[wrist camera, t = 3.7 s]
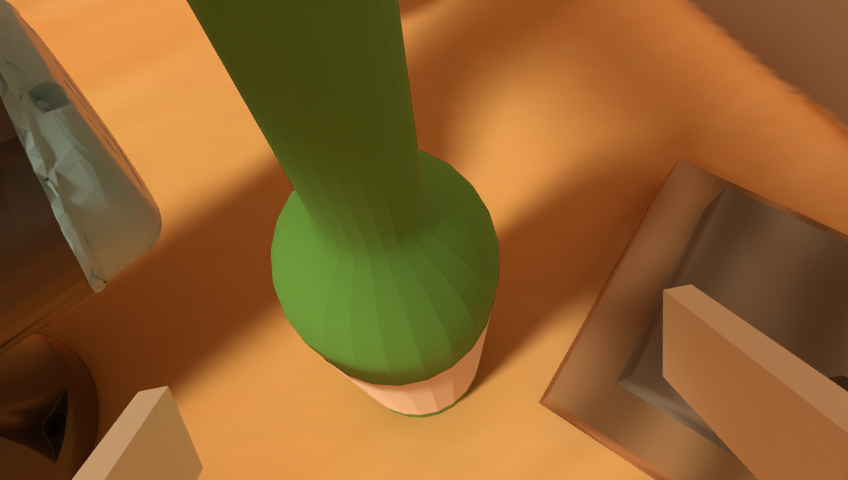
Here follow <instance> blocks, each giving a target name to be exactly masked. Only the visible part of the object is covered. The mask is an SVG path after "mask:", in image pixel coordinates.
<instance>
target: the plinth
mask: <svg viewBox="0 0 848 480" xmlns="http://www.w3.org/2000/svg"><path fill="white" fill-rule="evenodd" d="M690 284H692V285H693V286H694V287H696V288H697V289H699V290H700V291H702V292H703V293H705V294H706V295H708V296H709V297H710V298H712V299H713V300H715V301H716V302H718V303H719V304H721V305H722V306H724V307H725V308H727V309H728V310H729V311H731V312H732V313H734V314H735V315H737V316H738V317H740V318H741V319H743V320H744V321H745V322H747V323H748V324H750V325H751V326H753V327H754V328H756V329H757V330H759V331H760V332H761V333H763V334H764V335H766V336H767V337H769V338H770V339H772V340H773V341H775V342H776V343H777V344H779V345H780V346H782V347H783V348H785V349H786V350H788V351H789V352H791V353H792V354H793V355H795V356H796V357H798V358H799V359H801V360H802V361H804V362H805V363H807V364H808V365H809V366H811V367H812V368H814V369H815V370H817V371H818V372H820V373H821V374H823V375H824V376H826V377H827V378H830V377H835V376H840V375H842V376H845V377H847V378H848V236H847V235H845V234H842V233H840V232H838V231H836V230H834V229H832V228H829V227H827V226H825V225H823V224H821V223H818V222H816V221H814V220H812V219H810V218H807V217H805V216H803V215H801V214H799V213H797V212H794V211H792V210H790V209H788V208H786V207H783V206H781V205H779V204H777V203H775V202H773V201H770V200H768V199H766V198H764V197H762V196H759V195H757V194H755V193H753V192H751V191H748V190H746V189H744V188H742V187H740V186H738V185H735V184H733V183H731V182H729V181H727V180H724V179H722V178H720V177H718V176H716V175H713V174H711V173H709V172H707V171H705V170H703V169H700V168H698V167H696V166H694V165H692V164H689V163H687V162H685V161H683V160H681V159H679V161H678V162H677V163H676V165H675V166H674V167H673V169H672V170H671V171H670V173H669V174H668V175H667V177H666V178H665V179H664V181H663V182H662V184H661V186H660V188H659V190H658V191H657V193H656V195H655V197H654V198H653V200H652V202H651V204H650V206H649V207H648V209H647V211H646V213H645V215H644V216H643V218H642V220H641V222H640V223H639V225H638V227H637V229H636V231H635V232H634V234H633V236H632V238H631V240H630V241H629V243H628V245H627V247H626V248H625V250H624V252H623V254H622V256H621V257H620V259H619V261H618V263H617V265H616V266H615V268H614V270H613V272H612V273H611V275H610V277H609V279H608V281H607V282H606V284H605V286H604V288H603V289H602V291H601V293H600V295H599V297H598V298H597V300H596V302H595V304H594V306H593V307H592V309H591V311H590V313H589V314H588V316H587V318H586V320H585V322H584V323H583V325H582V327H581V329H580V331H579V332H578V334H577V336H576V338H575V339H574V341H573V343H572V345H571V347H570V348H569V350H568V352H567V354H566V355H565V357H564V359H563V361H562V363H561V364H560V366H559V368H558V370H557V372H556V373H555V375H554V377H553V379H552V380H551V382H550V384H549V386H548V388H547V389H546V391H545V393H544V395H543V397H542V398H541V400H540V402H539V403H540V404H542V405H543V406H545V407H546V408H548V409H549V410H551V411H552V412H554V413H555V414H557V415H558V416H560V417H561V418H563V419H564V420H566V421H568V422H569V423H571V424H572V425H574V426H575V427H577V428H578V429H580V430H581V431H583V432H584V433H586V434H587V435H589V436H590V437H592V438H593V439H595V440H596V441H598V442H599V443H601V444H602V445H604V446H605V447H607V448H608V449H610V450H611V451H613V452H615V453H616V454H618V455H619V456H621V457H622V458H624V459H625V460H627V461H628V462H630V463H631V464H633V465H634V466H636V467H637V468H639V469H640V470H642V471H643V472H645V473H646V474H648V475H649V476H651V477H652V478H654V479H655V480H758V479H757V478H756V477H755V476H754V475H753V473H752V472H751V471H750V470H749V469H748V468H747V467H746V466H745V465H744V464H743V463H742V462H741V460H740V459H739V458H738V457H737V456H736V455H735V454H734V453H733V452H732V451H731V450H730V449H729V447H728V446H727V445H726V444H725V443H724V442H723V441H722V440H721V439H720V438H719V437H718V436H717V434H716V433H715V432H714V431H713V430H712V429H711V428H710V427H709V426H708V425H707V424H706V423H705V421H704V420H703V419H702V418H701V417H700V416H699V415H698V414H697V413H696V412H695V411H694V410H693V408H692V407H691V406H690V405H689V404H688V403H687V402H686V401H685V400H684V399H683V398H682V397H681V395H680V394H679V393H678V392H677V391H676V390H675V389H674V388H673V387H672V386H671V385H670V384H669V383H668V381H667V380H666V379H665V378H664V377H663V290H664V289H669V288H675V287H680V286H685V285H690Z"/></svg>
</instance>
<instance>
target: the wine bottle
mask: <svg viewBox="0 0 848 480" xmlns="http://www.w3.org/2000/svg"><path fill="white" fill-rule="evenodd" d="M187 2H188V3H189V5H190V7H191V9H192V10H193V12H194V14H195V16H196V17H197V19H198V21H199V23H200V24H201V26H202V28H203V30H204V31H205V33H206V35H207V37H208V38H209V40H210V42H211V44H212V45H213V47H214V49H215V51H216V52H217V54H218V56H219V58H220V59H221V61H222V63H223V65H224V66H225V68H226V70H227V72H228V73H229V75H230V77H231V79H232V80H233V82H234V84H235V86H236V87H237V89H238V91H239V93H240V94H241V96H242V98H243V100H244V101H245V103H246V105H247V107H248V108H249V110H250V112H251V114H252V115H253V117H254V119H255V120H256V122H257V124H258V126H259V127H260V129H261V131H262V133H263V134H264V136H265V138H266V140H267V141H268V143H269V145H270V147H271V148H272V150H273V152H274V154H275V155H276V157H277V159H278V161H279V162H280V164H281V166H282V168H283V169H284V171H285V173H286V175H287V176H288V178H289V180H290V182H291V183H292V185H293V187H294V191H293V192H292V193H291V194H290V196H289V198H288V200H287V202H286V204H285V206H284V207H283V209H282V211H281V213H280V215H279V217H278V220H277V223H276V228H275V232H274V237H273V241H272V246H271V264H272V279H273V286H274V288H275V291H276V293H277V296H278V299H279V301H280V304H281V307H282V309H283V312H284V314H285V317H286V318H287V320H288V321H289V322H290V324H291V325H292V326H293V327H294V329H295V330H296V331H297V333H298V334H299V335H300V336H301V338H302V339H303V340H304V342H305V343H306V344H307V345H308V346H310V347H311V348H312V349H313V350H315V351H316V352H317V353H318V354H320V355H321V356H322V357H324V359H325V360H326V361H328V362H329V363H330V364H331V365H333V366H334V367H335V368H336V369H338V370H339V371H340V372H341V373H343V374H344V375H345V376H347V377H348V378H349V379H350V380H352V381H353V382H354V383H355V384H357V385H358V386H359V387H360V388H362V389H363V390H364V391H366V392H367V393H368V394H369V395H371V396H372V397H373V398H374V399H376V400H377V401H379V402H380V403H381V404H383V405H384V406H386V407H387V408H389V409H390V410H392V411H394V412H396V413H399V414H402V415H405V416H408V417H428V416H432V415H437V414H440V413H442V412H444V411H446V410H448V409H450V408H451V407H453V406H454V405H455V404H457V403H458V402H459V401H460V400H461V399H462V398H463V397H464V396H465V395H466V393H467V391H468V390H469V388H470V386H471V385H472V383H473V381H474V378H475V375H476V372H477V368H478V365H479V361H480V357H481V353H482V349H483V345H484V340H485V336H486V332H487V328H488V323H489V319H490V315H491V311H492V306H493V302H494V295H495V291H496V287H497V282H498V277H499V244H498V240H497V237H496V233H495V230H494V226H493V223H492V220H491V216H490V213H489V211H488V209H487V208H486V206H485V204H484V203H483V201H482V200H481V198H480V197H479V195H478V193H477V192H476V190H475V189H474V187H473V186H472V185H471V184H470V182H468V181H467V180H466V179H465V178H464V177H463V176H462V175H461V174H460V173H458V172H457V171H456V170H455V169H454V168H453V167H452V166H451V165H449V164H447V163H446V162H444V161H442V160H440V159H438V158H436V157H434V156H432V155H430V154H428V153H427V152H424V151H420V150H418V147H417V140H416V132H415V125H414V117H413V110H412V102H411V95H410V87H409V79H408V72H407V64H406V57H405V49H404V42H403V34H402V27H401V19H400V12H399V4H398V0H187Z"/></svg>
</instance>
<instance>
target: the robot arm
mask: <svg viewBox="0 0 848 480" xmlns="http://www.w3.org/2000/svg"><path fill="white" fill-rule="evenodd" d="M161 227H162V221H161V214H160V211H159V208H158V206H157V204H156V202H155V200H154V199H153V197H152V195H151V193H150V191H149V190H148V188H147V187H146V185H145V183H144V182H143V180H142V179H141V177H140V175H139V174H138V172H137V171H136V169H135V168H134V166H133V165H132V163H131V162H130V160H129V159H128V157H127V156H126V154H125V153H124V151H123V150H122V148H121V147H120V146H119V144H118V143H117V141H116V140H115V138H114V137H113V135H112V134H111V133H110V131H109V130H108V128H107V127H106V125H105V124H104V123H103V121H102V120H101V118H100V117H99V116H98V114H97V113H96V111H95V110H94V109H93V107H92V106H91V105H90V103H89V102H88V100H87V99H86V98H85V96H84V95H83V93H82V92H81V91H80V89H79V88H78V87H77V85H76V84H75V83H74V81H73V80H72V78H71V77H70V76H69V74H68V73H67V72H66V70H65V69H64V68H63V66H62V65H61V64H60V62H59V61H58V60H57V59H56V57H55V56H54V55H53V53H52V52H51V51H50V49H49V48H48V47H47V46H46V44H45V43H44V42H43V41H42V39H41V38H40V37H39V36H38V35H37V33H36V32H35V31H34V30H33V29H32V28H31V27H30V26H29V25H28V24H27V23H26V22H25V20H24V19H23V18H22V17H21V16H20V14H19V12H18V11H17V10H16V9H15V8H14V7H13V6H12V5H11V4H10V3H9V2H7V1H6V0H0V480H197V479H198V477H199V475H200V473H201V471H202V468H203V467H202V464H201V462H200V460H199V457H198V455H197V453H196V450H195V448H194V445H193V443H192V441H191V438H190V436H189V434H188V431H187V429H186V427H185V424H184V422H183V420H182V417H181V415H180V413H179V410H178V408H177V406H176V403H175V401H174V399H173V396H172V394H171V391H170V389H169V387H168V386H164V387H159V388H154V389H149V390H144V391H139V392H138V393H137V394H136V395H135V397H134V398H133V399H132V401H131V402H130V403H129V405H128V406H127V407H126V409H125V410H124V411H123V413H122V414H121V415H120V417H119V418H118V419H117V421H116V422H115V423H114V424H113V426H112V427H111V428H110V430H109V431H108V432H107V434H106V435H105V436H104V438H103V439H102V440H101V442H100V443H99V444H98V446H97V447H96V448H95V450H94V451H93V452H92V449H93V445H94V441H95V436H96V430H97V420H98V405H97V396H96V391H95V387H94V383H93V380H92V378H91V375H90V373H89V371H88V369H87V367H86V366H85V364H84V363H83V361H82V360H81V359H80V358H79V357H78V356H77V355H76V354H75V353H74V352H73V351H72V350H71V349H70V348H68V347H67V346H65V345H64V344H62V343H60V342H58V341H55V340H53V339H50V338H46V337H43V336H40V335H36V334H33V333H35V332H36V331H38V330H39V329H41V328H42V327H44V326H45V325H47V324H48V323H50V322H51V321H53V320H54V319H56V318H57V317H59V316H60V315H62V314H63V313H65V312H66V311H68V310H69V309H71V308H72V307H73V306H75V305H76V304H78V303H79V302H81V301H82V300H84V299H85V298H87V297H88V296H90V295H91V294H93V293H97V294H98V293H100V292H101V291H103V289H104V288H105V287H106V283H107V281H109V280H110V279H111V278H113V277H114V276H115V275H117V274H118V273H119V272H121V271H122V270H123V269H125V268H126V267H127V266H129V265H130V264H131V263H133V262H134V261H135V260H137V259H138V258H140V257H141V256H142V255H144V254H145V253H146V252H148V251H149V250H150V249H151V248H152V246H153V245H154V244H155V243H156V241H157V240H158V237H159V234H160V231H161ZM663 377H664V378H665V379H666V380H667V381H668V383H669V384H670V385H671V386H672V387H673V388H674V389H675V390H676V391H677V392H678V393H679V394H680V395H681V397H682V398H683V399H684V400H685V401H686V402H687V403H688V404H689V405H690V406H691V407H692V408H693V410H694V411H695V412H696V413H697V414H698V415H699V416H700V417H701V418H702V419H703V420H704V421H705V423H706V424H707V425H708V426H709V427H710V428H711V429H712V430H713V431H714V432H715V433H716V434H717V436H718V437H719V438H720V439H721V440H722V441H723V442H724V443H725V444H726V445H727V446H728V447H729V449H730V450H731V451H732V452H733V453H734V454H735V455H736V456H737V457H738V458H739V459H740V460H741V462H742V463H743V464H744V465H745V466H746V467H747V468H748V469H749V470H750V471H751V472H752V473H753V475H754V476H755V477H756V478H757V479H758V480H848V378H847V377H845V376H842V375H840V376H835V377H830V378H827V377H826V376H824V375H823V374H821V373H820V372H818V371H817V370H815V369H814V368H812V367H811V366H809V365H808V364H807V363H805V362H804V361H802V360H801V359H799V358H798V357H796V356H795V355H793V354H792V353H791V352H789V351H788V350H786V349H785V348H783V347H782V346H780V345H779V344H777V343H776V342H775V341H773V340H772V339H770V338H769V337H767V336H766V335H764V334H763V333H761V332H760V331H759V330H757V329H756V328H754V327H753V326H751V325H750V324H748V323H747V322H745V321H744V320H743V319H741V318H740V317H738V316H737V315H735V314H734V313H732V312H731V311H729V310H728V309H727V308H725V307H724V306H722V305H721V304H719V303H718V302H716V301H715V300H713V299H712V298H710V297H709V296H708V295H706V294H705V293H703V292H702V291H700V290H699V289H697V288H696V287H694V286H693V285H692V284H690V285H685V286H680V287H675V288H669V289H664V290H663ZM91 452H92V454H91Z"/></svg>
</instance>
